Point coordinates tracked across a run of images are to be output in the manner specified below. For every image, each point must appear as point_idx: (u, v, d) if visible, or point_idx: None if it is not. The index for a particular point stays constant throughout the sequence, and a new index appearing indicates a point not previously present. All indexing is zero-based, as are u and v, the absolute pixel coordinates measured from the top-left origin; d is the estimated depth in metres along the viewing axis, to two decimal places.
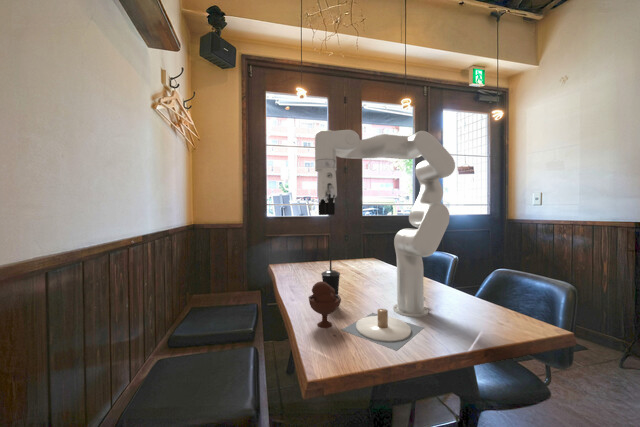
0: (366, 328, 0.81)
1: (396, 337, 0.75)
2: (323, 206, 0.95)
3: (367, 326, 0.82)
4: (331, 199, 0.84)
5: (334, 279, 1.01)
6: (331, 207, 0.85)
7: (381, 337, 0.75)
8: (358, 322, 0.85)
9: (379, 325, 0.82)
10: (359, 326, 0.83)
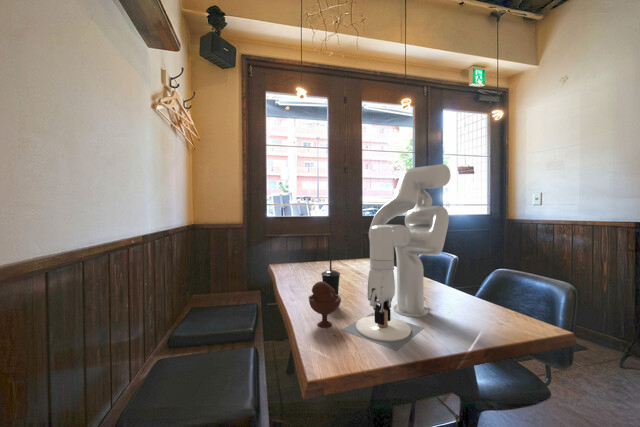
0: (366, 328, 0.81)
1: (396, 337, 0.75)
2: None
3: (367, 326, 0.82)
4: None
5: (334, 279, 1.01)
6: None
7: (381, 337, 0.75)
8: (358, 322, 0.85)
9: (379, 325, 0.82)
10: (359, 326, 0.83)
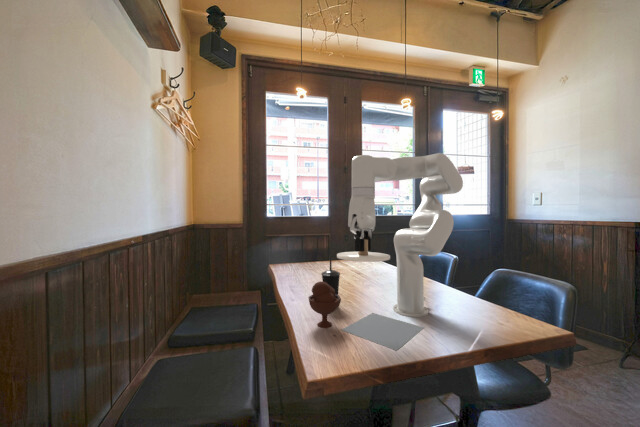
0: (346, 255, 0.82)
1: (375, 258, 0.76)
2: None
3: (347, 254, 0.83)
4: None
5: (334, 279, 1.01)
6: None
7: (361, 258, 0.76)
8: (339, 253, 0.86)
9: (359, 253, 0.82)
10: (340, 254, 0.83)
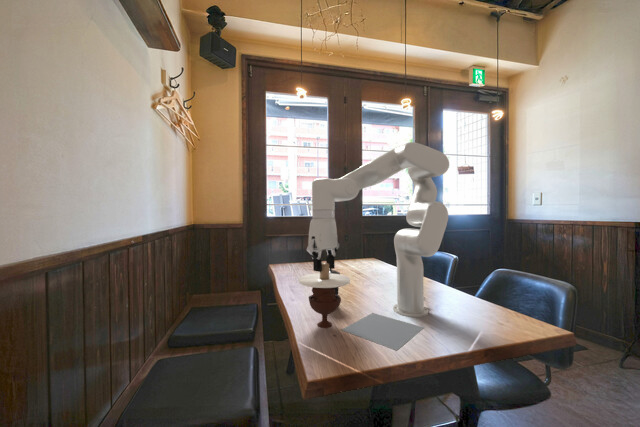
0: (308, 279, 0.85)
1: (332, 284, 0.78)
2: None
3: (309, 278, 0.86)
4: None
5: None
6: None
7: (317, 284, 0.79)
8: (303, 276, 0.89)
9: (320, 277, 0.85)
10: (302, 278, 0.86)
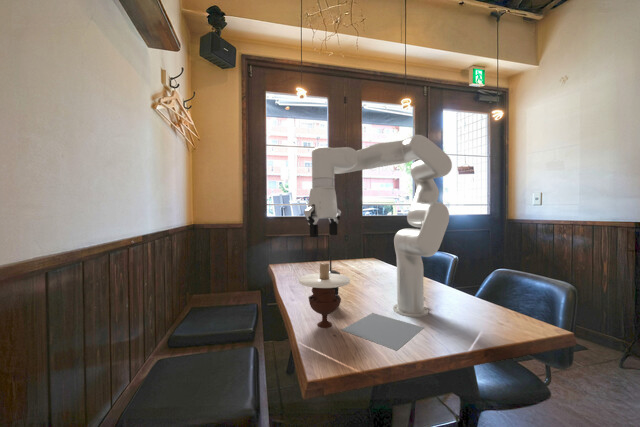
0: (307, 279, 0.85)
1: (332, 284, 0.78)
2: None
3: (309, 278, 0.86)
4: None
5: None
6: None
7: (317, 284, 0.78)
8: (303, 276, 0.89)
9: (320, 277, 0.85)
10: (302, 278, 0.86)
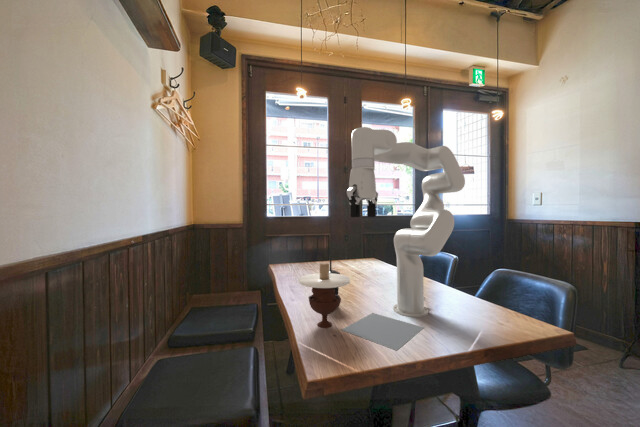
0: (307, 280, 0.85)
1: (332, 284, 0.78)
2: None
3: (309, 279, 0.86)
4: None
5: None
6: None
7: (317, 284, 0.78)
8: (303, 276, 0.89)
9: (320, 277, 0.85)
10: (302, 278, 0.86)
